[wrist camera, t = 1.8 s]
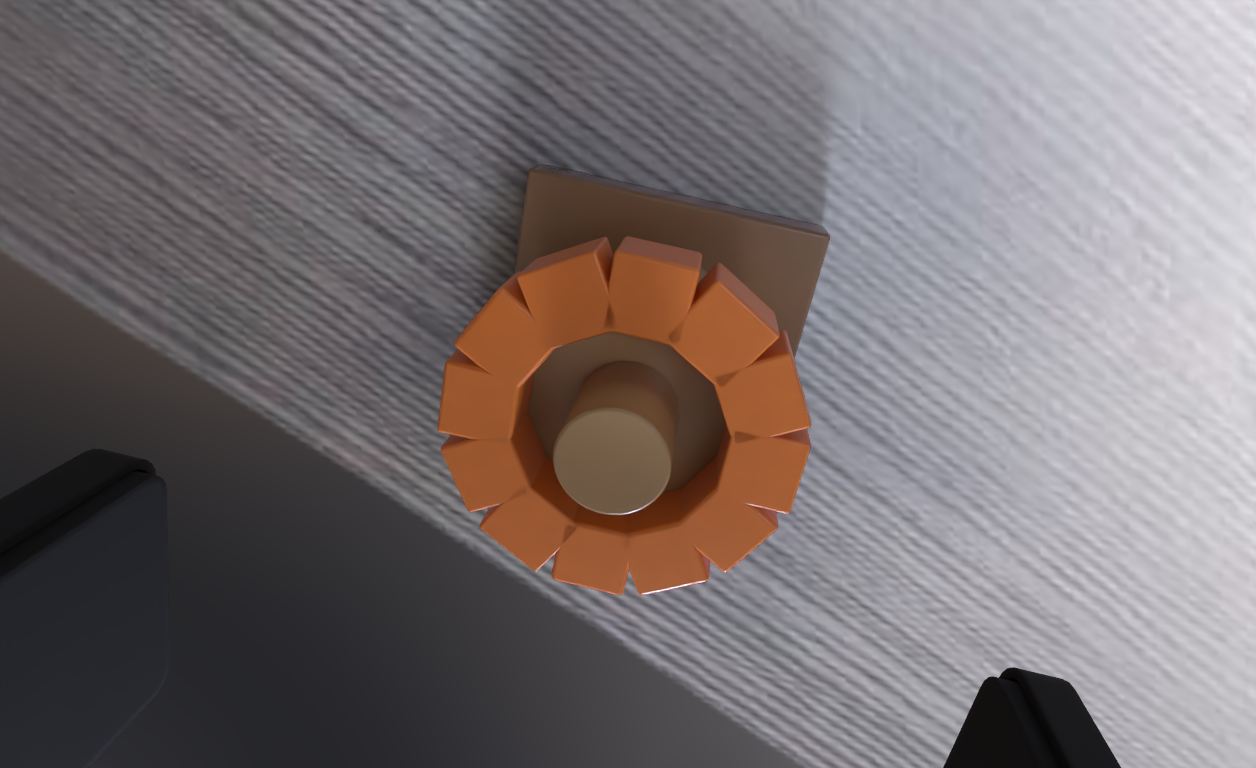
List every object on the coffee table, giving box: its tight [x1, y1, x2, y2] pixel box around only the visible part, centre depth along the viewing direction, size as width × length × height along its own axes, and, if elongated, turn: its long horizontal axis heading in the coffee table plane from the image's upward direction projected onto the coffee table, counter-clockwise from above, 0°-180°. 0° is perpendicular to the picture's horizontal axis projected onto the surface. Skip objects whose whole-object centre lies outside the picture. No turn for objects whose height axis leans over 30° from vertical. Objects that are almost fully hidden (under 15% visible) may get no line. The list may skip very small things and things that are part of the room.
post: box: [513, 165, 830, 515], centre depth 17 cm, size 7×7×8 cm
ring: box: [438, 236, 811, 595], centre depth 15 cm, size 7×7×1 cm
